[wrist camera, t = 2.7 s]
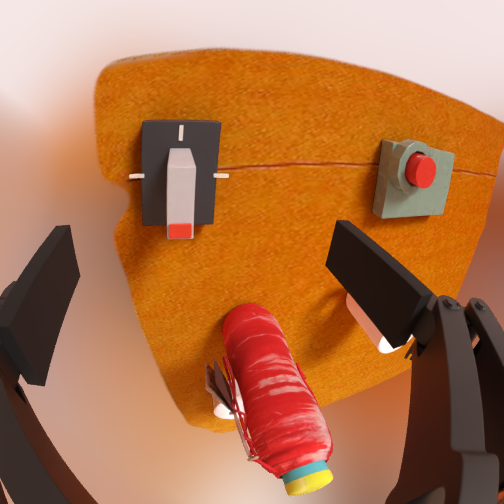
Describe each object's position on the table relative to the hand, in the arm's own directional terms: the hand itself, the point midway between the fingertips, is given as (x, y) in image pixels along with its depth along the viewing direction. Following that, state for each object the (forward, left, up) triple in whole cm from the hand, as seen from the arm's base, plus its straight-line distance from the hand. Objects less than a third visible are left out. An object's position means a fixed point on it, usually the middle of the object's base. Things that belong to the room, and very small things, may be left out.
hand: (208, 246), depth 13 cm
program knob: (-1, -1, -14) cm, 14 cm away
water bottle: (+18, -11, -17) cm, 27 cm away
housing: (+21, +21, -16) cm, 34 cm away
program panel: (-1, -1, -16) cm, 16 cm away
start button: (+17, +20, -13) cm, 29 cm away
